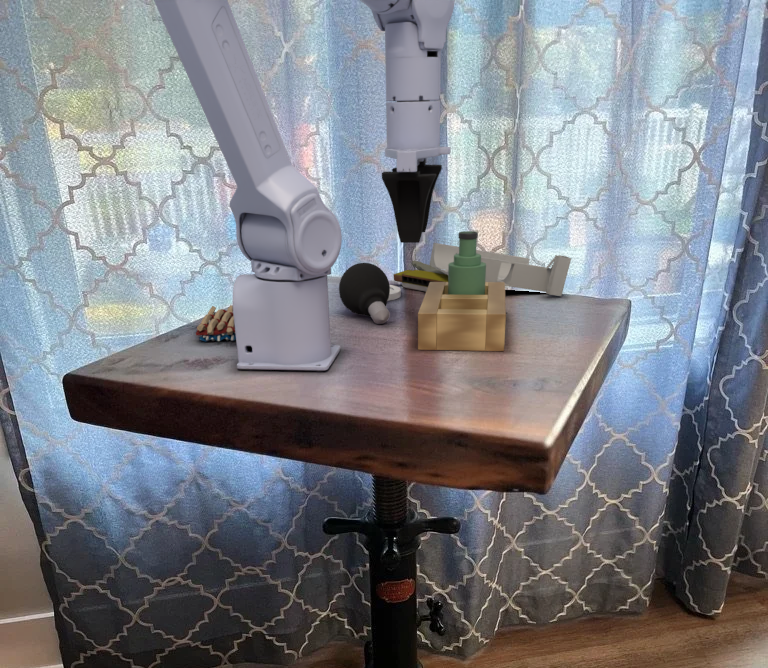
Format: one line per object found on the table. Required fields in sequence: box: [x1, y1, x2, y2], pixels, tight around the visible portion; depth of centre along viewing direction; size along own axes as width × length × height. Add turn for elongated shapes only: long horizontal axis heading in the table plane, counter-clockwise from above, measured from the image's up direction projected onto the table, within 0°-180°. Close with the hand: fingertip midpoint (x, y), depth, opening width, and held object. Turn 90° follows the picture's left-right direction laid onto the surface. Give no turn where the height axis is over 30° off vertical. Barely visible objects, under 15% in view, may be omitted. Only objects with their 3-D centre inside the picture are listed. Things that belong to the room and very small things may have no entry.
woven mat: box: [195, 304, 236, 343], centre depth 93 cm, size 10×11×2 cm
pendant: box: [387, 284, 402, 302], centre depth 111 cm, size 7×11×1 cm, turn 34°
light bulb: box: [338, 262, 391, 325], centre depth 97 cm, size 6×6×10 cm
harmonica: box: [393, 269, 448, 293], centre depth 111 cm, size 15×3×2 cm, turn 41°
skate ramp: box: [428, 237, 572, 297], centre depth 109 cm, size 15×13×5 cm
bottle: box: [448, 230, 486, 295], centre depth 93 cm, size 4×4×10 cm
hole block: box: [417, 282, 507, 352], centre depth 91 cm, size 9×17×4 cm, turn 173°
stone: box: [411, 260, 447, 275], centre depth 120 cm, size 13×2×5 cm
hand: (413, 237), depth 89 cm, fingers open, 7 cm apart
